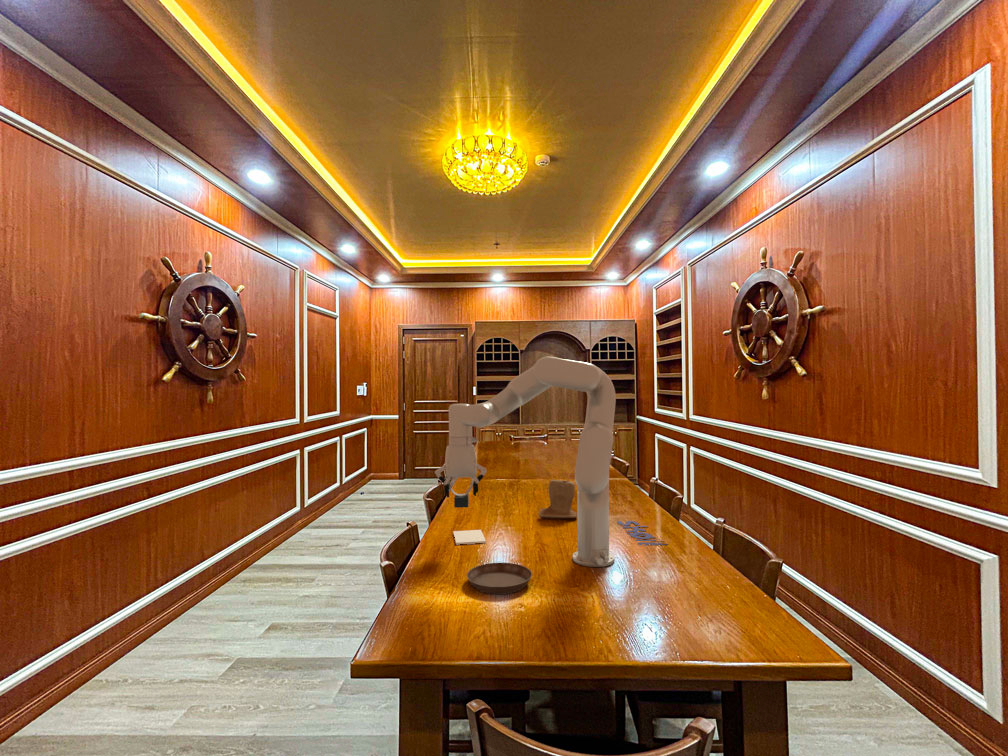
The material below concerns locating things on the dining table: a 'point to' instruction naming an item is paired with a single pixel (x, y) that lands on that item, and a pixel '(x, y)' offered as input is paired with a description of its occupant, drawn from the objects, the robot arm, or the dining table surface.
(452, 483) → the watch
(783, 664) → the dining table surface
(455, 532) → the pad
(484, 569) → the plant saucer
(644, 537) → the signage
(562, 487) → the brown boot
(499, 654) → the dining table surface
